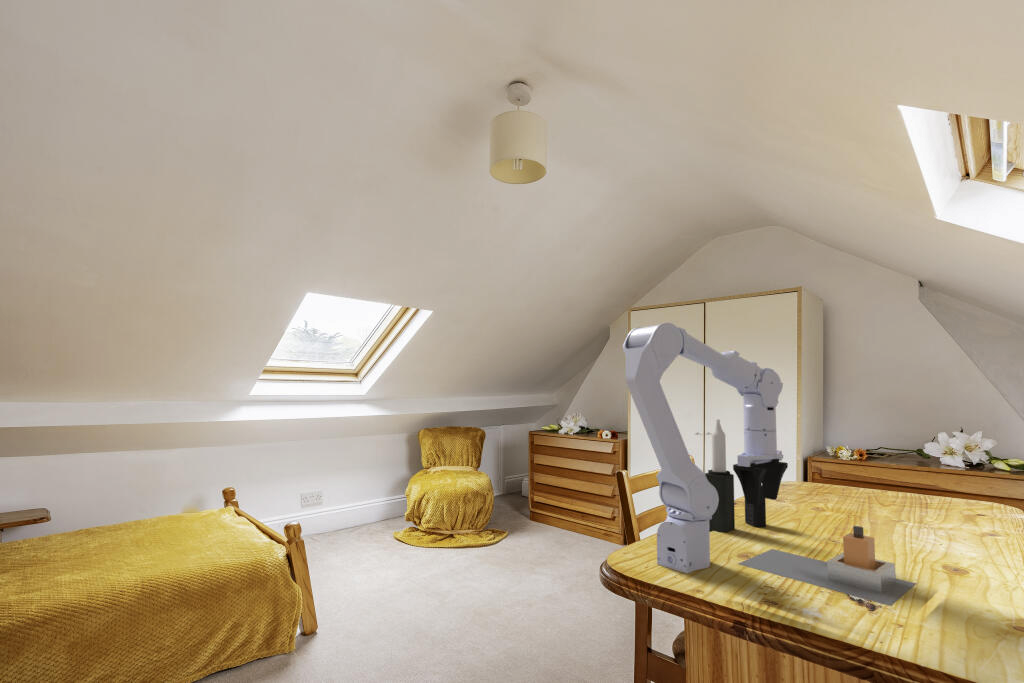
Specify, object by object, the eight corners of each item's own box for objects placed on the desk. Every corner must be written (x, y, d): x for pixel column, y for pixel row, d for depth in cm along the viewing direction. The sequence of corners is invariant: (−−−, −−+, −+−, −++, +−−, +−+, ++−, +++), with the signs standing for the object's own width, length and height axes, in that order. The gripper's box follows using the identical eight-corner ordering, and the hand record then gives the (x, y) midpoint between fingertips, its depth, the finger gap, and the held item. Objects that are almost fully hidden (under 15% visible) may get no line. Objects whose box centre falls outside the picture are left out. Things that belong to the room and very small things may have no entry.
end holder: (881, 593, 82) (880, 573, 82) (827, 579, 88) (827, 560, 88) (895, 582, 87) (895, 563, 87) (844, 569, 92) (843, 552, 93)
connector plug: (869, 586, 85) (867, 531, 86) (844, 580, 87) (842, 526, 88) (876, 581, 87) (873, 527, 88) (851, 575, 90) (849, 523, 90)
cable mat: (890, 611, 77) (890, 605, 77) (737, 568, 95) (737, 563, 95) (916, 588, 86) (916, 583, 86) (772, 553, 104) (772, 548, 104)
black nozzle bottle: (725, 536, 115) (722, 420, 117) (703, 531, 119) (701, 418, 121) (736, 532, 118) (734, 419, 120) (715, 527, 122) (713, 418, 124)
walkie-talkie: (743, 522, 127) (742, 458, 129) (757, 522, 128) (755, 458, 129) (755, 527, 123) (753, 461, 124) (769, 527, 123) (767, 461, 124)
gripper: (763, 433, 95) (765, 510, 94) (797, 429, 105) (799, 500, 104) (726, 430, 101) (727, 503, 100) (761, 427, 110) (762, 494, 109)
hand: (761, 501), depth 102 cm, fingers open, 7 cm apart
